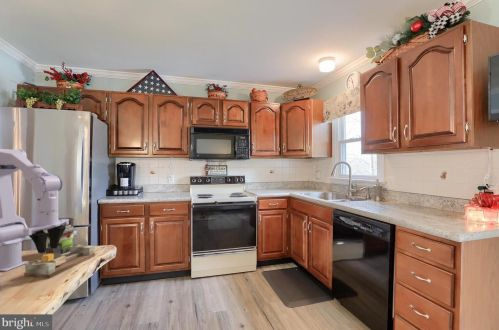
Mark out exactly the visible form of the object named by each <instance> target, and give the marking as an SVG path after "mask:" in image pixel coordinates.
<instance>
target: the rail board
mask: <svg viewBox="0 0 499 330" xmlns="http://www.w3.org/2000/svg"><path fill="white" fill-rule="evenodd" d="M64 256H66V262H64V263H61V264H59V265H57V266H55V263H49V262H41V261H38V260H31V261H30V262H28V263H26V264H24V265H25V266H24V267H25V270H24V271H25V272H23V276H24V277H26V278H27V277H28V278H43V279H51V278H53V277H55V276H58V275H59V274H62V273H64V272H65V271H67V270H69V269H71V268H74V267H75V266H78V265H80V264H82V263H84V262H85V261H88V260H89V259H91V258H94V257H95V256H96V253H95V245H88V244H87V245H84V244H79V243H77V244H73V246H70V253H69V254H66V255H64Z"/></svg>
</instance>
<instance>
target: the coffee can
mask: <svg viewBox="0 0 499 330" xmlns="http://www.w3.org/2000/svg"><path fill="white" fill-rule="evenodd" d="M61 219H69V224H67V225H62V226H63V227H65V231H64V232H63V234H62V236H61V238H60V241H59V244H58V246H61V256H65V255H67V254H70V246H73V245H74V218H72V217H61V218H59V217H58V220H61ZM44 232H45V233H48V231H47V230H44ZM48 247H50V238H49V235H48V237H47V241H46V248H48ZM44 254H46V251H45V253H43V255H44Z"/></svg>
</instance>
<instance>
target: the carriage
mask: <svg viewBox="0 0 499 330" xmlns="http://www.w3.org/2000/svg"><path fill="white" fill-rule="evenodd" d="M47 253H52V254H54V259H53V260H51V261H49V263H55V266H57V265H59V264H61V263H64V262H66V256H65V255H62V256H61V246H58V247H57V248H56V249H54V248H50V247H48V248H46V254H47ZM40 262H45V261H42V258H41V259H40Z"/></svg>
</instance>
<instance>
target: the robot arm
mask: <svg viewBox="0 0 499 330" xmlns="http://www.w3.org/2000/svg"><path fill="white" fill-rule="evenodd" d="M19 170H20V171H22V177H23V178H24V179H25V180H27V181H28V182H29V183H30V184H31V185H32V186H31V187H32V188H31V189H32V191H33V194H34V199H36V224H34V225H33V226H29V227H28V225H27V223H26V220H25V218H24V217H21V216H19V215H17V212H16V203H15V197H14V190H13V189H14V188H13V183H12V182H13V181H12V174H13V173H15V172H18V171H19ZM63 184H64V183H63V179H62V178H61V176H60V175H59V174H51V173H49V172H48V171H47V170H46V169H44V168H43V167H42V166H41V164H33V163H32V162H31V161H30V160H29V159H28V156H27V152H26V151H24V150H23V149H13V148H12V149H10V148H9V149H8V148H0V272H7V271H10V270H12V269H15V268H17V267H20V266H23V265H25V264H27V263H29V261H28V260H23V258H22V257H23V256H22V252H23V251H22V246H23V245H22V242H23V241H24V240H25V238H27V236H28V237H29V238H30V239H31V240H32V242H33V244H34V245H35V247H36V250H37V253H38V254H44V253H45V251H46V241H47V237H48V235H49V238H50V248H54V249H56V248H57V247H58V244H59V241H60V238H61V236H62V234H63V232H64V231H65V227H63V226H62V225H67V224H69V219H61V220H58V218H59V192H60V191H61V190H62V189H63ZM44 230H47V231H48V233H45V232H44Z"/></svg>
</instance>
